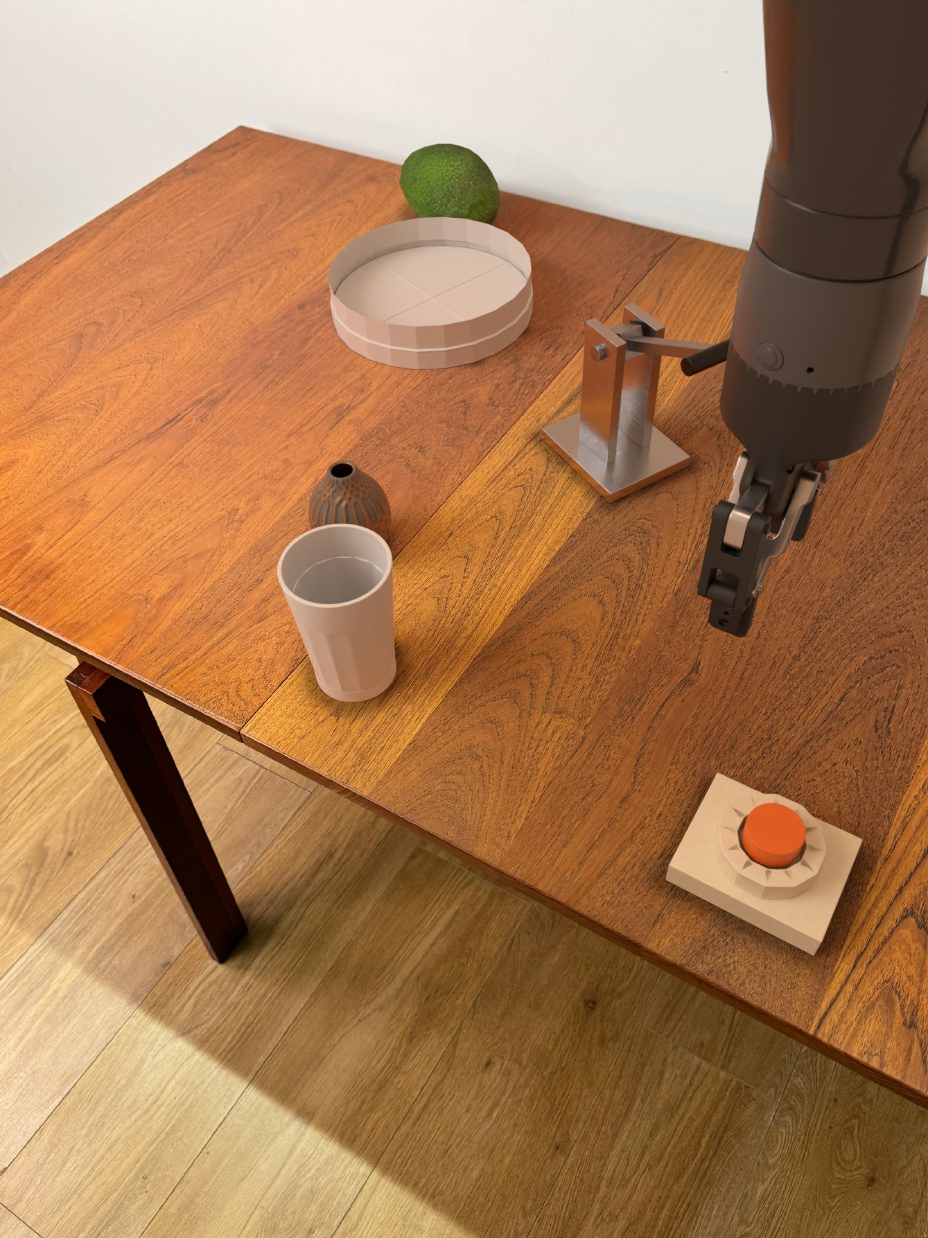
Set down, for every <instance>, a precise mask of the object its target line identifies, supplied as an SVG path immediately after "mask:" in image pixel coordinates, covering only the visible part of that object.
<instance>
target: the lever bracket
mask: <svg viewBox="0 0 928 1238" xmlns="http://www.w3.org/2000/svg"><path fill="white" fill-rule="evenodd" d="M622 323H623V324H634V325H641V327H642V333H643V336H645V337H654V338H663V339H665V333H666V326H665V324H663V322H662V323H661V321H659V320H658V319H656V318H655V317H654V316H652V315H651V314H650V313H649V312H647V311H646V310H644V309H643V308H641V307H640V306H639V305H637V303H635V302H631V303H628V304H626V305H624V306H623V314H622ZM609 328H610V327H608V326H607V325H605V324H604V323H602V321H600V320H599V319H597V318H596V317H593V318H591V319H588V320H586V321H585V326H584V329H585V330H584V343H583V344H584V345H583V359H582V360H583V362H582V375H581V377H582V378H581V394H580V395H581V396H580V411H578V412H576V413H573V414H571V415H569V416H566V417H564V418H562V419H560V420H557V421H554V422H553V423H550V424H548V425H546V426H543V427H541V428H540V439H542V441H544V442H545V443H546V445H547V446H548V447H550V448H551V449H552V450H553V451H554V452H555V453H556V454H557V455H558V456H559V457H561V459H562V460H563V461H565V462H566V463H567V464H568V465H569V466H570V467H571V469H573V470H574V471H575V472H576V473H577V474H578V475H579V476H580V477H581V478H583V479H584V480H585V481H586V482H587V483H588V484H589V485H590V486H591V487H592V488H593V489H594V490H595V491H597V493H598V494H599V495H600V496H601V497H603V499H604V500H606V502H608V504H612V503H614V502H617V501H619V500H621V499H623V498H625V497H627V496H630V495H631V494H633V493H635V492H638V491H639V490H641V489H644V488H646V487H648V486H650V485H652V484H654V483H656V482H659V481H661V480H662V479H664V478H667V477H669V476H671V475H673V474H675V473H677V472H680V471H682V470H683V469H686V468H688V467H690V461H691V456H690V455H689V454H688V453H687V452H686V451H684V449H682V448H681V447H679V446H678V444H676V443H675V442H674V441H673V440H672V439H670V438H669V437H668V436H667V435H665V434H664V433H663V432H662V431H660V429H658V428H657V427H656V426H655V425H654V419H655V412H656V404H657V398H658V397H657V396H658V388H659V381H660V374H661V365H662V355H655V354H647V353H645V354H642V355H640V356H638V357H635V358H633V359H630V360H628V361H625V354H626V344H627V343H626V342H625V341H624V340H623V339H621V338H620V337H619V336H618V335H616V334H615V333H614V332H613V331H611V330H610V329H609Z"/></svg>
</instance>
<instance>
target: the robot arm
mask: <svg viewBox="0 0 928 1238" xmlns="http://www.w3.org/2000/svg"><path fill="white" fill-rule="evenodd" d="M761 10H762V11H761V12H762V14H761V15H762V30H763V32H762V33H763V51H764V52H763V53H764V70H765V85H766V86H765V89H766V90H765V91H766V99H767V105H768V114H769V120H770V131H771V133H770V134H771V135H770V141H769V144H768V149H767V154H766V159H765V163H764V169H763V174H762V179H761V180H762V181H761V186H760V192H759V197H758V204H757V210H756V215H755V221H754V228H753V229H754V230H753V233H752V238H751V242H750V246H749V249H748V252H747V255H746V258H745V261H744V265H743V268H742V270H741V274H740V277H739V283H738V287H737V294H736V299H735V306H734V311H733V316H732V317H733V318H732V323H731V329H730V336H729V338H730V342H729V348H728V354H727V360H726V361H725V367H724V371H723V379H722V384H721V390H720V397H719V412H720V415H721V419H722V420H723V423H724V424H725V427H726V428H727V430H729V432H730V433H731V434H732V435H733V436H734V438H736V439H737V440H738V441H739V443H740V444H741V445H742V446H743V449H742V451H741V452H740V455H739V457H738V459H737V461H736V465H735V467H734V469H733V472H732V475H731V476H732V482H733V486H732V489H731V492H730V495H729V497H728V500H726V499H723V498H721V499H720V500H719V501H718V502H717V504H716V505H714V506H713V508H712V511H711V521H710V525H709V531H708V536H707V541H706V545H705V550H704V555H703V559H702V560H703V561H702V566H701V570H700V574H699V575H700V576H699V580H698V582H697V585H696V587H697V589H696V595H698V596H700V597H702V598H705V599H707V600H710V601H711V602H710V607H709V611H708V612H709V613H708V617H707V622H708V623H709V625H710V627H712V628H714V629H717V630H719V631H722V632H724V633H726V634H729V635H732V636H734V637H737V638H744V637H745V636H746V635H747V634H748V633H749V630H750V629H751V628H752V624H753V619H754V616H755V612H756V608H757V604H758V599H759V595H760V593H762V591H763V588H764V586H765V583H764V581H765V578H766V575H767V573H768V570H769V569H770V566H771V563H772V560H773V559H774V557H775V558H776V557H778V556H780V555H783V554H784V553H786V551H787V549H788V547H789V545H790V542H791V541H792V542H801V541H802V540H803V539H804V538H805V536H806V534H807V533H808V531H809V526H810V523H811V520H812V515H813V513H814V509H815V505H816V501H817V498H818V495H819V492H820V491H819V490H821V489H822V488H823V486H824V485H826V484H827V483H828V481H829V480H830V477H831V475H832V472H833V470H834V467H835V465H836V463H837V460H839V459H843V458H845V457H848V456H851V455H852V454H855V453H856V452H858V451H860V450H861V449H863V448H864V447H865V446H866V445H868V444H869V443H870V442H871V441H872V440H873V439H874V437H875V436H876V434H877V433H878V431H879V429H880V427H881V423H882V420H883V417H884V415H885V411H886V408H887V406H888V402H889V399H890V395H891V392H892V389H893V386H894V383H895V380H896V376H897V373H898V370H899V367H900V365H901V362H902V358H903V355H904V352H905V349H906V345H907V343H908V339H909V336H910V333H911V331H912V327H913V324H914V322H915V317H916V314H917V311H918V307H919V304H920V299H921V294H922V289H923V283H924V275H925V268H926V263H927V260H928V0H761ZM770 534H773V535H775V536H771V535H770Z"/></svg>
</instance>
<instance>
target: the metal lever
mask: <svg viewBox="0 0 928 1238" xmlns="http://www.w3.org/2000/svg"><path fill="white" fill-rule="evenodd" d="M608 328H609V329H610V330H611V331H613V332H614V333H615V334H616V335H618V336H619V337H620V338H621V339H623V340H624V341H625V342H626V343H627V344H626V354H625V361H628V360H630V359H633V358H635V357H638V356H640V355H642V354H645V353H647V354H655V355H662V356H663V357H671V358H679V359H681V360H680V370H681V372H682V373H683V375H685V376H686V377H688V378H690V377H693V376H695V375H698V374H700V373H702V372H704V371H706V370H709V369H711V368H713V367H715V366H718V365H721V364H723V363H726V360H727V354H728V348H729V342H730V337H729V338H726V339H724V340H722V341H720V342H718V343H705V342H697V341H689V340H680V339H670V338H664V339H663V338H654V337H645V336H643V333H642V327H641V325H634V324H623V322H621V323H619V324H616V325H614V326H611V327H608Z"/></svg>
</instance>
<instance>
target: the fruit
mask: <svg viewBox="0 0 928 1238" xmlns="http://www.w3.org/2000/svg"><path fill="white" fill-rule="evenodd" d="M399 186H400V189H401V191H402V193H403V196H404V198H405V200H406V202H407V204H408V205H409V207H410V208H411V209H412V211H413V212H414V214H415V215H416V217H417V218H431V217H449V218H461V219H469V220H473V221H477V222H481V223H486V224H489V225H492V224H493V222H494V221H495V220H496V219H497V217H498V214H499V210H500V206H501V195H500V194H501V193H500V189H499V184H498V182H497V180H496V177H495V176H494V174H493V171H492V170H491V169H490V167H489V166H488V164H487V163H486V162H485V160H483V159H482V157H481V156H480V155H479V154H478V153H476V152H474V151H473V150H472V149H471V148H467V147H465V146H462V145H459V144H454V143H435V144H431V145H426V146H423V147H420V148H418V149H416V150H414V151H412V152H411V153H410V154H409V155H408V156H407V157H406V159H405V160H404V162H403V163H402V165H401V170H400V177H399Z"/></svg>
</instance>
